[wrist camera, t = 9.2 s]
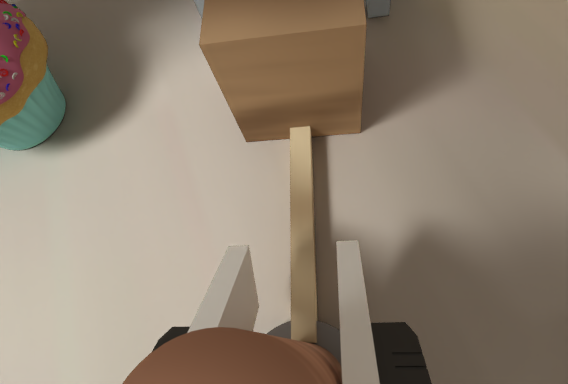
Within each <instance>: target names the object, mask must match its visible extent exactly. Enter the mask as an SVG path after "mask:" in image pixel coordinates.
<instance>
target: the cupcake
mask: <svg viewBox="0 0 568 384" xmlns="http://www.w3.org/2000/svg"><path fill="white" fill-rule="evenodd" d="M47 55H48V46H47V43H46V40H45V38H44V37H43V35H42V34H41V32H40V31H39V30H38V29H37V27H36V26H35V24H34V23H33V22H32V21H31V20H30V19H29V18H27V17H26V15H25V13H24V12H23V11H21V10H20V9H18V7H17V6H16V5H15V4H12V5H10V4H8V3H7V2H6V1H4V0H0V147H2V148H5V149H9V150H24V149H28V148H31V147H34V146H36V145H38V144H40V143H41V142H43V141H44V140H46V139H47V138H48V137H49V136H50V135H51V134H52V133H53V132H54V131H55V130H56V129H57V128H58V126H59V125H60V123H61V121H62V119H63V116H64V113H65V108H66V104H65V98H64V96H63V94H62V92H61V91H60V89H59V87H58V86H57V84H56V82H55V80H54V78H53V76H52V74H51V72H50V70H49V68H48V66H47V63H46V61H47Z"/></svg>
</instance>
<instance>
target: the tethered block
mask: <svg viewBox="0 0 568 384" xmlns="http://www.w3.org/2000/svg"><path fill="white" fill-rule="evenodd" d="M365 41H366V16H365V7H364V0H204V8H203V17H202V25H201V34H200V42H199V45H200V47H201V49H202V52H203V54H204V56H205V58H206V60H207V62H208V64H209V66H210V68H211V70H212V72H213V74H214V76H215V78H216V80H217V82H218V84H219V86H220V89H221V91H222V93H223V95H224V97H225V99H226V101H227V103H228V105H229V107H230V109H231V111H232V113H233V115H234V117H235V119H236V121H237V123H238V126H239V128H240V130H241V132H242V134H243V136H244V138H245V140H246V142H252V141H264V140H277V139H289V138H290V217H291V321H290V322H287V323H284V324H281V325H280V326H278V327H276V328H274V329H273V330H271V331H270V332H269V333H267V334H262V333H257V332H253V331H248V330H243V329H238V328H228V327H214V328H205V329H200V330H196V331H191V332H189V333H186V334H183V335H181V336H178V337H176V338H174V339H172V340H170V341H168V342H166V343H165V344H163V345H162V346H160V347H159V348H157V349H156V350H154V351H153V352H152V353H150V354H149V355H148V356H147V357H146V358H145V359H144V360H143V361H141V362H140V363H139V364H138V365H137V367H136V368H135V369H134V370H133V371H132V372H131V373H130V374H129V376H128V377H127V378H126V380H125V381H124V382H123V384H342V365H341V342H340V331H339V330H338V329H336V328H335V327H333V326H331V325H329V324H326V323H323V322H320V321H317V290H316V258H315V226H314V194H313V162H312V137H314V136H326V135H338V134H351V133H360V130H361V112H362V95H363V77H364V59H365Z"/></svg>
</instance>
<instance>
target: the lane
mask: <svg viewBox="0 0 568 384" xmlns="http://www.w3.org/2000/svg"><path fill="white" fill-rule="evenodd" d="M194 2H195V4H196V6H197V9H198V11H199V13H200V15H201V18H202V17H203V8H204V0H194ZM390 2H391V0H366V6H367V14H368V18H371V17H379V16H387V15H389V10H390Z"/></svg>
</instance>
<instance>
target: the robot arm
mask: <svg viewBox="0 0 568 384" xmlns="http://www.w3.org/2000/svg"><path fill="white" fill-rule="evenodd" d="M336 246H337V270H338V294H339V318H340V342H341V365H342V384H432V383H431V380H430V377H429V374H428V370H427V369H426V364H425V360H424V357H423V355H422V350H421V347H420V344H419V340H418V337H417V335H416V334H415V333H414V332H413V331H412V330H411V328H410V327H409V326H408V325H407V324H406V323H405V322H396V323H371V322H370V316H369V309H368V302H367V296H366V289H365V282H364V276H363V269H362V263H361V256H360V249H359V243H358V240H353V241H336ZM258 308H259V303H258V297H257V291H256V285H255V279H254V273H253V268H252V262H251V256H250V250H249V245H244V246H228V249H227V251H226V253H225V255H224V257H223V259H222V261H221V263H220V265H219V267H218V270H217V272H216V274H215V276H214V278H213V280H212V282H211V284H210V286H209V288H208V290H207V293H206V295H205V297H204V299H203V301H202V303H201V305H200V307H199V309H198V311H197V313H196V316H195V318H194V320H193V322H192V324H191V326H190V327H172V328H171V329H170V330H169V331H168V332H167V333H165V334H164V335H163V336H162V337H161V338H160V339H159V340H158V342H157V344H156V346H155V347H154V349H153V351H154V350H156V349H157V348H159V347H160V346H162V345H163V344H165V343H166V342H168V341H170V340H172V339H174V338H176V337H178V336H181V335H183V334H186V333H189V332H191V331H196V330H200V329H205V328H214V327H228V328H238V329H243V330H248V331H253V328H254V324H255V320H256V316H257V312H258ZM153 351H152V352H153Z"/></svg>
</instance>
